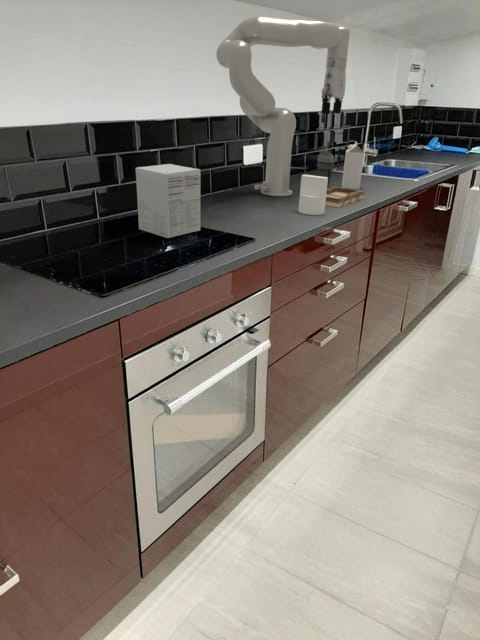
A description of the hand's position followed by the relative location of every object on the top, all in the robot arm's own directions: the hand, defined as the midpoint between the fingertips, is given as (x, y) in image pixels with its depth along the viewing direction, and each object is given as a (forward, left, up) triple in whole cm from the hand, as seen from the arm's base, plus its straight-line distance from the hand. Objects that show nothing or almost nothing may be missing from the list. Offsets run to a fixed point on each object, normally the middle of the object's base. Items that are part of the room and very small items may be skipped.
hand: (331, 113), depth 194 cm
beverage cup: (0, 0, -30) cm, 30 cm away
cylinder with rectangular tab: (-29, -30, -30) cm, 51 cm away
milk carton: (+16, +1, -30) cm, 34 cm away
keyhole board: (-8, -18, -30) cm, 36 cm away
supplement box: (-83, -33, -30) cm, 94 cm away
